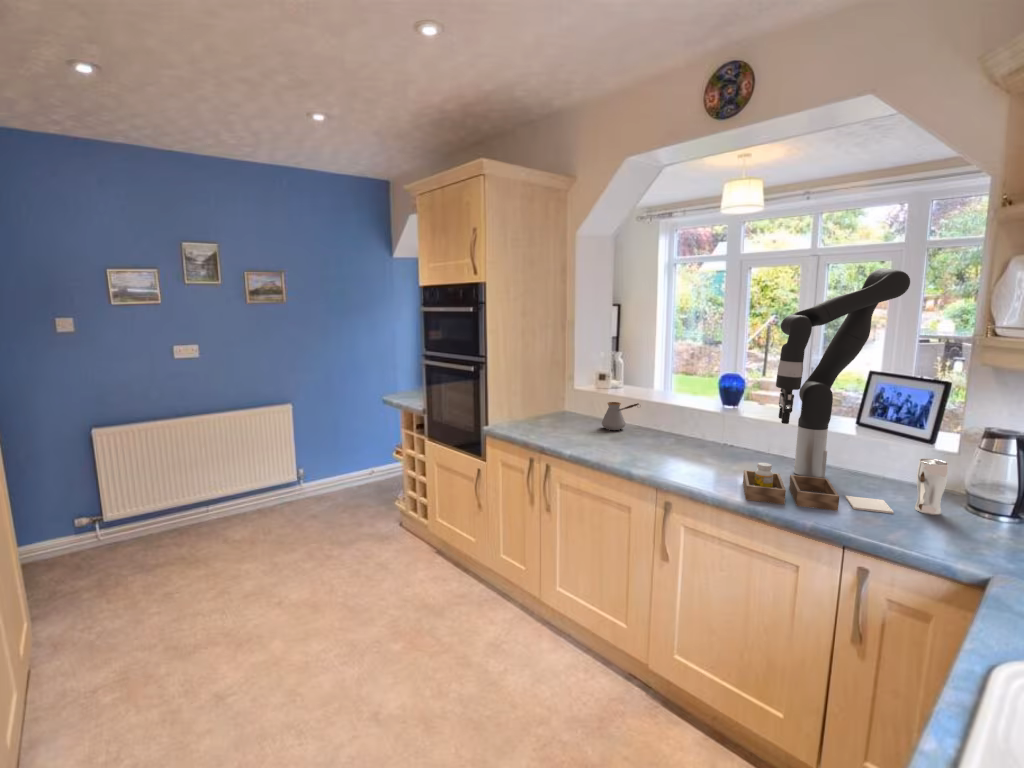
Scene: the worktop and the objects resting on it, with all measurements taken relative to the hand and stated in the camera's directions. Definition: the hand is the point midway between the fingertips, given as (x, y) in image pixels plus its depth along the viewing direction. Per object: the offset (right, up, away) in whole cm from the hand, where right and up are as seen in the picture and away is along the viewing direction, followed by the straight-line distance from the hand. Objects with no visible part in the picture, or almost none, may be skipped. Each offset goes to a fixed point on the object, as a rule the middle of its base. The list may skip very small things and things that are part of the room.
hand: (783, 421), depth 182 cm
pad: (+14, -24, -22) cm, 36 cm away
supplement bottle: (-13, -23, -12) cm, 29 cm away
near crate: (0, -23, -17) cm, 29 cm away
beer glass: (+28, -25, -27) cm, 46 cm away
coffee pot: (-41, -10, +71) cm, 83 cm away
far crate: (-13, -22, -12) cm, 29 cm away
